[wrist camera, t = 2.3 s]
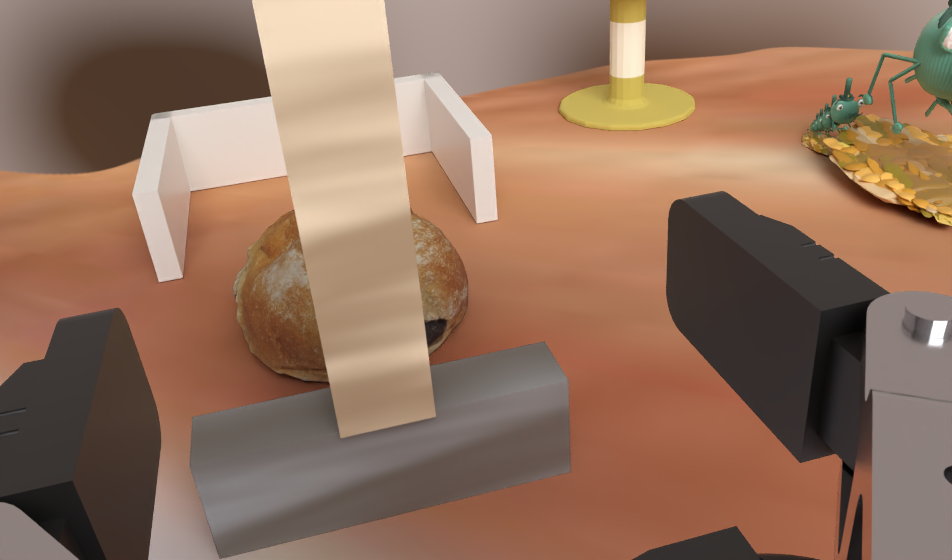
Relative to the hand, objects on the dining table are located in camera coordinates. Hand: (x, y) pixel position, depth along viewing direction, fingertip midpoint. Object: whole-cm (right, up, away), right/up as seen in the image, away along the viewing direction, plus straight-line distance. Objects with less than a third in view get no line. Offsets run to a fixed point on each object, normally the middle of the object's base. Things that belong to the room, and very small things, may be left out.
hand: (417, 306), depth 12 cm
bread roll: (-5, -2, +26) cm, 27 cm away
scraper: (-2, -7, +17) cm, 18 cm away
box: (-8, +5, +38) cm, 39 cm away
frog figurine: (+26, +6, +35) cm, 44 cm away
